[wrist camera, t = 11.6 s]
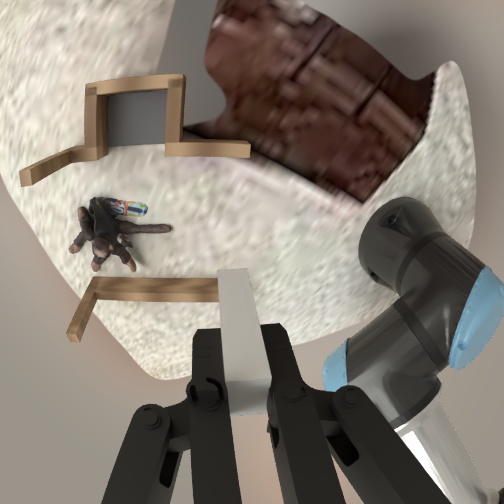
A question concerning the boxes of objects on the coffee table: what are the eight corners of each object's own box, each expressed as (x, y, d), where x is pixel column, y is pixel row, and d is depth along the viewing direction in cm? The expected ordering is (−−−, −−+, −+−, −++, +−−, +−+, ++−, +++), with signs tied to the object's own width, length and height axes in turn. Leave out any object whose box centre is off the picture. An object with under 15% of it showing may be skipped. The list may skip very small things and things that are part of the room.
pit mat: (169, 90, 26) (169, 90, 26) (167, 143, 29) (167, 143, 29) (109, 95, 25) (109, 95, 24) (109, 146, 28) (108, 146, 27)
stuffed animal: (53, 232, 31) (73, 212, 24) (97, 192, 37) (131, 164, 30) (103, 290, 36) (139, 291, 29) (139, 247, 43) (183, 235, 35)
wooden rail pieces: (252, 80, 27) (275, 65, 16) (235, 286, 41) (245, 348, 30) (73, 90, 23) (16, 90, 13) (95, 284, 37) (70, 341, 27)
